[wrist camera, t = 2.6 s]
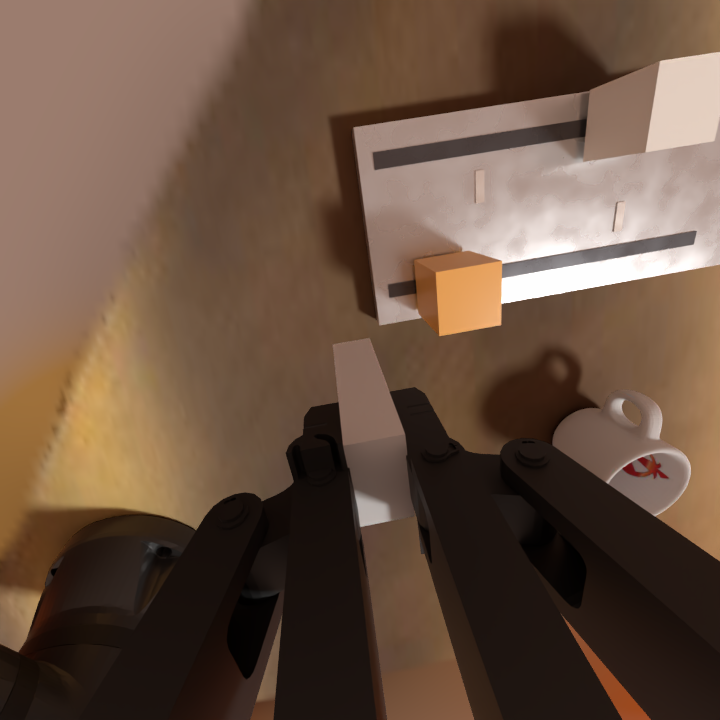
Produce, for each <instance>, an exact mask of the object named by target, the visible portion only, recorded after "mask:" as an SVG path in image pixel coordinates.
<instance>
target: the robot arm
mask: <svg viewBox="0 0 720 720" xmlns="http://www.w3.org/2000/svg"><path fill="white" fill-rule="evenodd" d="M333 351H334V361H335V370H336V380H337V390H338V400H339V402H337V403H332V404H326V405H321V406H315V407H311V408H310V409H309V411H308V412H307V414H306V415H305V417H304V429H303V435H302V436H300V437H299V438H297V439H295V440H294V441H293V442H292V443H291V444H290V445H289V447H288V449H287V452H286V456H287V459H288V463H289V466H290V469H291V473H292V476H293V480H294V483H293V484H292V485H291V486H290V487H288V488H287V489H286V490H285V491H283V492H281V493H279V494H277V495H275V496H273V497H271V498H268V499H266V500H264V501H261V499H260V498H259V497H258V496H256V495H255V494H251V493H239V494H234V495H232V496H229V497H227V498H225V499H223V500H221V501H220V502H219V503H217V504H216V505H215V506H213V507H212V509H211V510H210V511H209V512H208V513H207V515H206V516H205V517H204V519H203V521H202V522H201V524H200V525H199V527H198V529H197V530H196V531H195V530H193V529H191V528H189V527H187V526H185V525H183V524H180V523H178V522H175V521H172V520H168V519H164V518H160V517H154V516H145V515H127V516H118V517H112V518H108V519H104V520H100V521H98V522H95V523H93V524H90V525H88V526H87V527H85V528H83V529H82V530H80V531H79V532H77V533H76V534H75V535H74V536H73V537H72V538H71V539H70V540H69V541H68V543H67V544H66V545H65V547H64V548H63V550H62V551H61V552H60V554H59V555H58V556H57V558H56V559H55V561H54V562H53V564H52V566H51V568H50V570H49V572H48V575H47V578H46V582H45V589H44V591H43V593H42V595H41V598H40V601H39V603H38V606H37V609H36V612H35V615H34V618H33V621H32V624H31V627H30V631H29V634H28V637H27V639H26V641H25V643H24V644H23V646H22V648H21V649H20V651H19V652H16V651H14V650H12V649H10V648H8V647H6V646H4V645H2V644H0V720H250V718H251V715H252V712H253V709H254V705H255V702H256V699H257V695H258V692H259V689H260V685H261V682H262V679H263V675H264V672H265V669H266V666H267V662H268V659H269V656H270V652H271V649H272V646H273V642H274V639H275V636H276V632H277V629H278V626H279V623H280V619H281V616H282V626H281V637H280V649H279V661H278V673H277V685H276V697H275V709H274V720H387V715H386V708H385V700H384V693H383V685H382V678H381V670H380V663H379V656H378V648H377V641H376V633H375V626H374V618H373V611H372V604H371V596H370V589H369V581H368V574H367V566H366V559H365V552H364V544H363V540H362V535H361V529H360V527H362V526H367V525H373V524H378V523H383V522H388V521H393V520H398V519H403V518H408V517H413V516H414V510H415V513H416V516H417V521H418V530H419V539H420V548H421V554H425V556H426V559H427V562H428V566H429V569H430V572H431V576H432V579H433V582H434V586H435V589H436V593H437V596H438V599H439V603H440V606H441V609H442V613H443V616H444V619H445V623H446V626H447V629H448V633H449V636H450V639H451V643H452V646H453V649H454V653H455V656H456V659H457V663H458V666H459V670H460V673H461V676H462V679H463V683H464V686H465V690H466V693H467V696H468V700H469V703H470V706H471V710H472V713H473V716H474V720H622V718H621V716H620V715H619V713H618V711H617V710H616V708H615V706H614V705H613V703H612V701H611V699H610V698H609V696H608V694H607V692H606V691H605V689H604V687H603V686H602V684H601V682H600V681H599V679H598V677H597V676H596V674H595V672H594V670H593V668H592V667H591V665H590V663H589V662H588V660H587V658H586V657H585V655H584V653H583V651H582V650H581V648H580V646H579V645H578V643H577V641H576V640H575V638H574V636H573V634H572V633H571V631H570V629H569V627H568V626H567V624H566V622H565V621H564V619H563V617H562V615H563V616H564V618H565V619H566V620H567V621H568V622H569V623H570V625H571V626H572V627H573V628H574V629H575V631H576V632H577V633H578V634H579V635H580V636H581V638H582V639H583V640H584V641H585V642H586V643H587V644H588V646H589V647H590V648H591V649H592V651H593V652H594V653H595V654H596V655H597V656H598V658H599V659H600V660H601V661H602V662H603V663H604V665H605V666H606V667H607V668H608V669H609V671H610V672H611V673H612V674H613V675H614V676H615V678H616V679H617V680H618V681H619V682H620V683H621V685H622V686H623V687H624V688H625V689H626V690H627V692H628V693H629V694H630V695H631V696H632V698H633V699H634V700H635V701H636V702H637V703H638V705H639V706H640V707H641V708H642V709H643V711H644V712H646V714H647V715H648V716H649V718H650V719H651V720H720V561H718V560H717V559H715V558H714V557H713V556H711V555H710V554H708V553H707V552H705V551H704V550H702V549H701V548H700V547H698V546H697V545H695V544H694V543H692V542H691V541H690V540H688V539H687V538H685V537H684V536H682V535H681V534H679V533H678V532H677V531H675V530H674V529H672V528H671V527H669V526H668V525H667V524H665V523H664V522H662V521H661V520H659V519H658V518H656V517H655V516H654V515H652V514H651V513H649V512H648V511H646V510H645V509H643V508H642V507H641V506H639V505H638V504H636V503H635V502H633V501H632V500H631V499H629V498H628V497H626V496H625V495H623V494H622V493H620V492H619V491H618V490H616V489H615V488H613V487H612V486H610V485H609V484H608V483H606V482H605V481H603V480H602V479H600V478H599V477H597V476H596V475H595V474H593V473H592V472H590V471H589V470H587V469H586V468H585V467H583V466H582V465H580V464H579V463H577V462H576V461H574V460H573V459H572V458H570V457H569V456H567V455H566V454H564V453H563V452H562V451H560V450H559V449H557V448H556V447H554V446H552V445H550V444H548V443H546V442H544V441H540V440H536V439H529V438H520V439H515V440H511V441H509V442H508V443H506V444H505V445H504V446H503V448H502V450H501V451H500V455H492V454H478V453H472V452H468V451H465V449H464V448H463V447H462V446H461V445H460V443H459V442H457V441H455V440H453V439H451V438H449V436H448V435H447V433H446V431H445V429H444V427H443V426H442V424H441V422H440V420H439V418H438V417H437V415H436V413H435V412H434V409H433V408H432V406H431V404H430V402H429V400H428V398H427V397H426V395H425V393H423V392H421V391H420V390H418V389H417V388H415V387H413V388H408V389H402V390H397V391H391V392H389V389H388V387H387V384H386V381H385V379H384V376H383V373H382V371H381V368H380V365H379V363H378V360H377V357H376V355H375V352H374V349H373V346H372V344H371V341H370V338H367V339H361V340H356V341H350V342H344V343H339V344H333ZM282 613H283V614H282ZM560 613H561V614H562V615H561V614H560Z"/></svg>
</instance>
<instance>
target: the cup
mask: <svg viewBox="0 0 720 720" xmlns="http://www.w3.org/2000/svg"><path fill="white" fill-rule="evenodd" d="M624 400H628V401H631V402H632V403H633V404H635V405H636V406H637V407H638V408H639V410H640V412H641V415H642V420H641V423H640V425H639V426H638V425H636V424H634V423H632V422H631V421H630V420H628V419H627V418H626V417H625V415H624V414H623V412H622V403H623V401H624ZM661 427H662V414H661V410H660V408H659V407H658V405H657V404H656V403H655V402H654V401H653V400H652V399H650V398H649V397H647V396H646V395H644V394H642V393H639V392H637V391H633V390H617V391H614V392H613V393H611V394H610V395H609V396H608V398H607V400H606V402H605V405H604V407H603V409H599V408H586V409H582V410H579V411H576V412H574V413H572V414H570V415H569V416H567V417H566V418H565V419H564V420H563V421H562V422H561V423H560V424H559V425H558V427H557V428H556V430H555V432H554V435H553V440H552V445H553V446H554V447H556V448H557V449H559V450H560V451H562V452H563V453H564V454H566V455H567V456H569V457H570V458H572V459H573V460H574V461H576V462H577V463H579V464H580V465H582V466H583V467H585V468H586V469H587V470H589V471H590V472H592V473H593V474H595V475H596V476H597V477H599V478H600V479H602V480H603V481H605V482H606V483H608V484H609V485H610V486H612V487H613V488H615V489H616V490H618V491H619V492H620V493H622V494H623V495H625V496H626V497H628V498H629V499H631V500H632V501H633V502H635V503H636V504H638V505H639V506H641V507H642V508H643V509H645V510H646V511H648V512H649V513H651V514H652V515H654V516H656V515H658V514H660V513H661V512H663V511H664V510H666V509H667V508H668V507H670V506H671V505H672V504H673V503H674V502H675V501H676V500H677V499H678V498H679V497H680V496H681V494H682V493H683V492H684V490H685V488H686V487H687V485H688V482H689V479H690V475H691V466H690V463H689V460H688V458H687V457H686V456H685V455H684V454H683V453H682V452H681V451H680V450H678V449H677V448H675V447H673V446H671V445H670V444H668V443H666V442H664V441H662V440H661V439H659V435H660V431H661Z"/></svg>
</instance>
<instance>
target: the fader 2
mask: <svg viewBox="0 0 720 720" xmlns="http://www.w3.org/2000/svg"><path fill="white" fill-rule="evenodd" d="M719 119H720V52H717V53H710V54H703V55H697V56H690V57H683V58H677V59H670V60H664V61H659V62H657V63H654V64H652V65H649V66H647V67H644V68H642V69H640V70H637V71H635V72H632V73H630V74H627V75H625V76H623V77H620V78H618V79H615V80H613V81H611V82H608V83H606V84H603V85H601V86H598V87H596V88H594V89H591V90H590V95H589V105H588V115H587V125H586V135H585V146H584V156H583V162H587V161H593V160H600V159H606V158H613V157H619V156H625V155H632V154H638V153H645V152H651V151H657V150H663V149H669V148H676V147H682V146H688V145H694V144H700V143H706V142H713V141H715V136H716V132H717V128H718V123H719Z"/></svg>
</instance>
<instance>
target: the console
mask: <svg viewBox="0 0 720 720" xmlns="http://www.w3.org/2000/svg"><path fill="white" fill-rule="evenodd" d="M589 95H590V91H588V92H581V93H575V94H568V95H561V96H555V97H548V98H542V99H535V100H529V101H522V102H516V103H509V104H503V105H496V106H490V107H483V108H477V109H470V110H464V111H457V112H451V113H444V114H438V115H431V116H425V117H418V118H412V119H405V120H399V121H392V122H386V123H379V124H373V125H366V126H360V127H353V129H352V131H351V134H352V141H353V149H354V156H355V163H356V171H357V178H358V186H359V193H360V201H361V208H362V216H363V223H364V230H365V238H366V245H367V253H368V260H369V268H370V275H371V283H372V290H373V297H374V305H375V312H376V320H377V322H378V323H379V325H384V324H390V323H395V322H401V321H406V320H412V319H418V318H422V317H421V316H420V315H419V313H418V301H417V289H416V277H415V265H414V260H417V259H423V258H429V257H434V256H440V255H446V254H452V253H458V252H464V251H472V252H475V253H478V254H482V255H485V256H488V257H491V258H495V259H498V260H501V261H502V299H501V303H507V302H513V301H518V300H524V299H529V298H535V297H540V296H546V295H552V294H557V293H563V292H568V291H574V290H580V289H585V288H591V287H596V286H602V285H607V284H613V283H619V282H624V281H630V280H635V279H641V278H647V277H652V276H658V275H663V274H669V273H674V272H680V271H686V270H691V269H697V268H702V267H708V266H714V265H719V264H720V119H719V123H718V128H717V132H716V136H715V141H713V142H706V143H700V144H694V145H688V146H682V147H676V148H669V149H663V150H657V151H651V152H645V153H638V154H632V155H625V156H619V157H613V158H606V159H600V160H593V161H587V162H583V156H584V146H585V135H586V125H587V115H588V105H589Z"/></svg>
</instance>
